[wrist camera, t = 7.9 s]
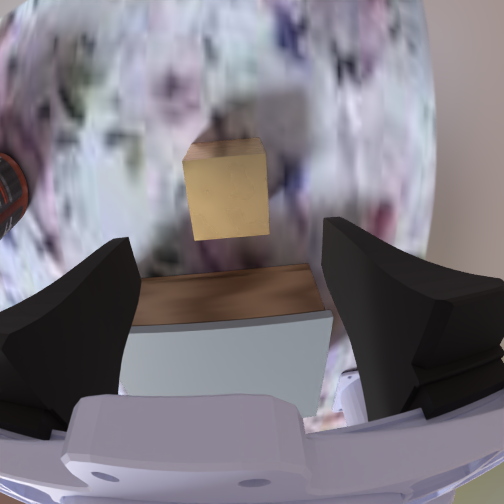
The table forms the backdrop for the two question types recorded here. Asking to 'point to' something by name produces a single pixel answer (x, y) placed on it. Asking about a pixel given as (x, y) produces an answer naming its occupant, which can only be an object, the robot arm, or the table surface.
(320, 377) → the lid
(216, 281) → the box
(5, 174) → the supplement bottle
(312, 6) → the table surface
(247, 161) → the block
